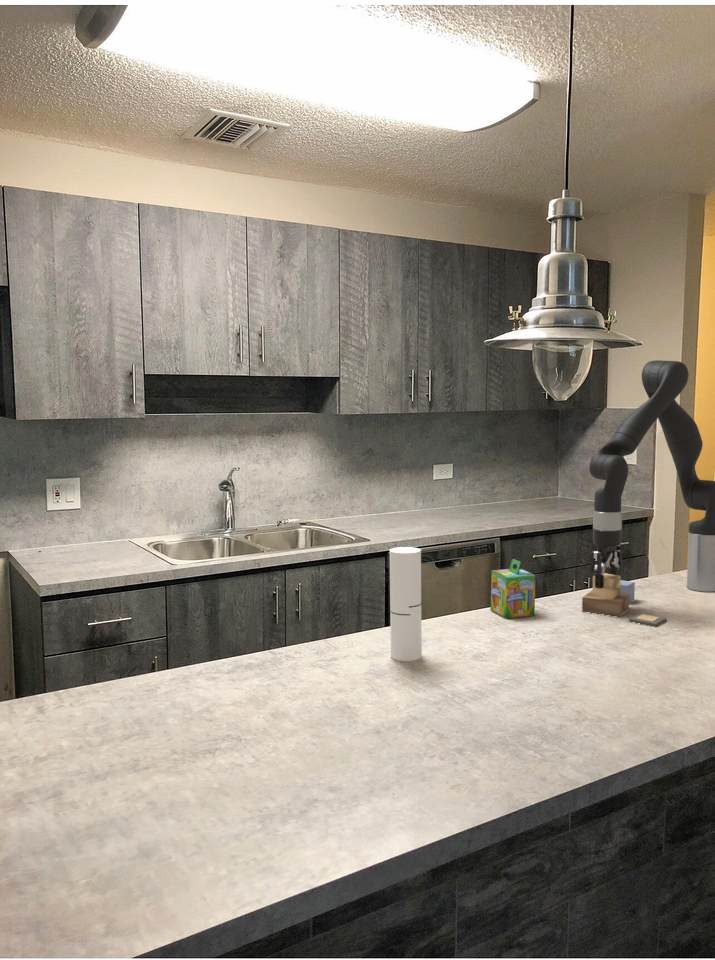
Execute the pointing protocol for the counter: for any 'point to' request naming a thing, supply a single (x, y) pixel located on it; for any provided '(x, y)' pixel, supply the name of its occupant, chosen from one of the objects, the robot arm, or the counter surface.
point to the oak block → (608, 587)
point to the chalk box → (513, 592)
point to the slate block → (628, 589)
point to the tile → (647, 619)
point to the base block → (605, 604)
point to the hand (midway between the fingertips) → (606, 585)
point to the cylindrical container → (405, 603)
